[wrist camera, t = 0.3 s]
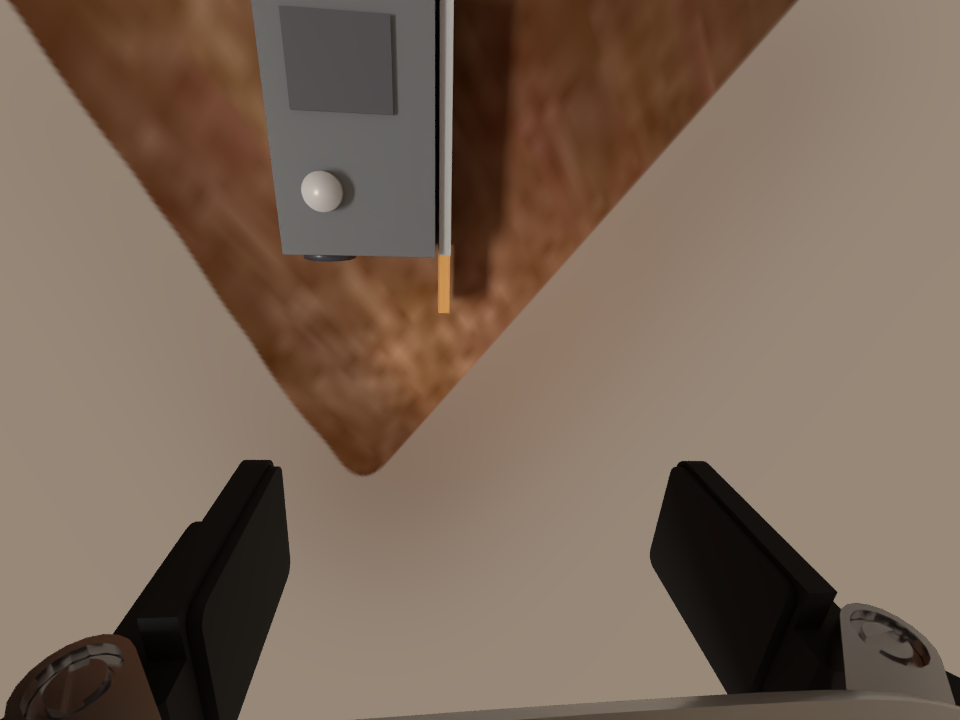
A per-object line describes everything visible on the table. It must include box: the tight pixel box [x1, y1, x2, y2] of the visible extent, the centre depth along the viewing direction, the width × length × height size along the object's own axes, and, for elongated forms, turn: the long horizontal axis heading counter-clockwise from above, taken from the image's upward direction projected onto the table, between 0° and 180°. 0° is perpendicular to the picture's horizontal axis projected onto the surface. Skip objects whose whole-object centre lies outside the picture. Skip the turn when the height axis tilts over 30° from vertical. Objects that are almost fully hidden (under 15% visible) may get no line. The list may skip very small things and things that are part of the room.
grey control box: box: [251, 0, 435, 261], centre depth 30 cm, size 17×10×6 cm, turn 177°
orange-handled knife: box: [436, 0, 454, 313], centre depth 32 cm, size 21×1×4 cm, turn 177°
